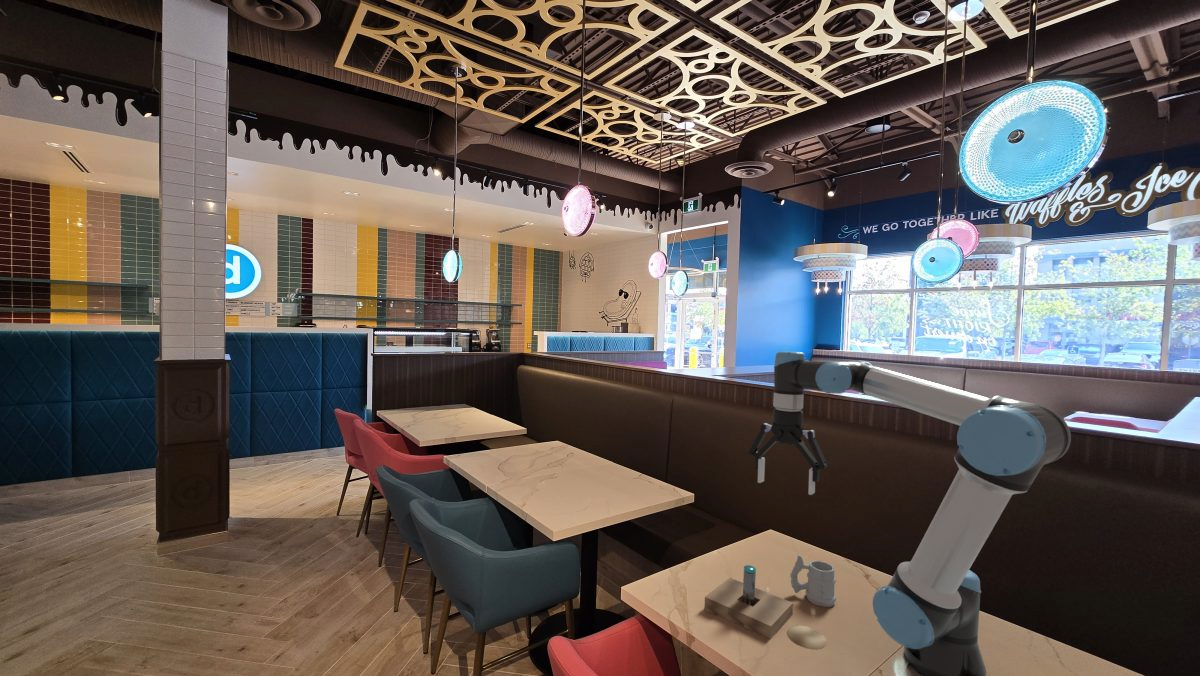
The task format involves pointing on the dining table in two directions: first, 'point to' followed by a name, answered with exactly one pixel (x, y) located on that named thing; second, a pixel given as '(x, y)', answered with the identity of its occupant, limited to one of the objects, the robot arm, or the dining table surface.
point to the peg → (749, 585)
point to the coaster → (806, 637)
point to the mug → (815, 582)
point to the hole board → (749, 608)
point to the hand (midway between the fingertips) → (785, 487)
